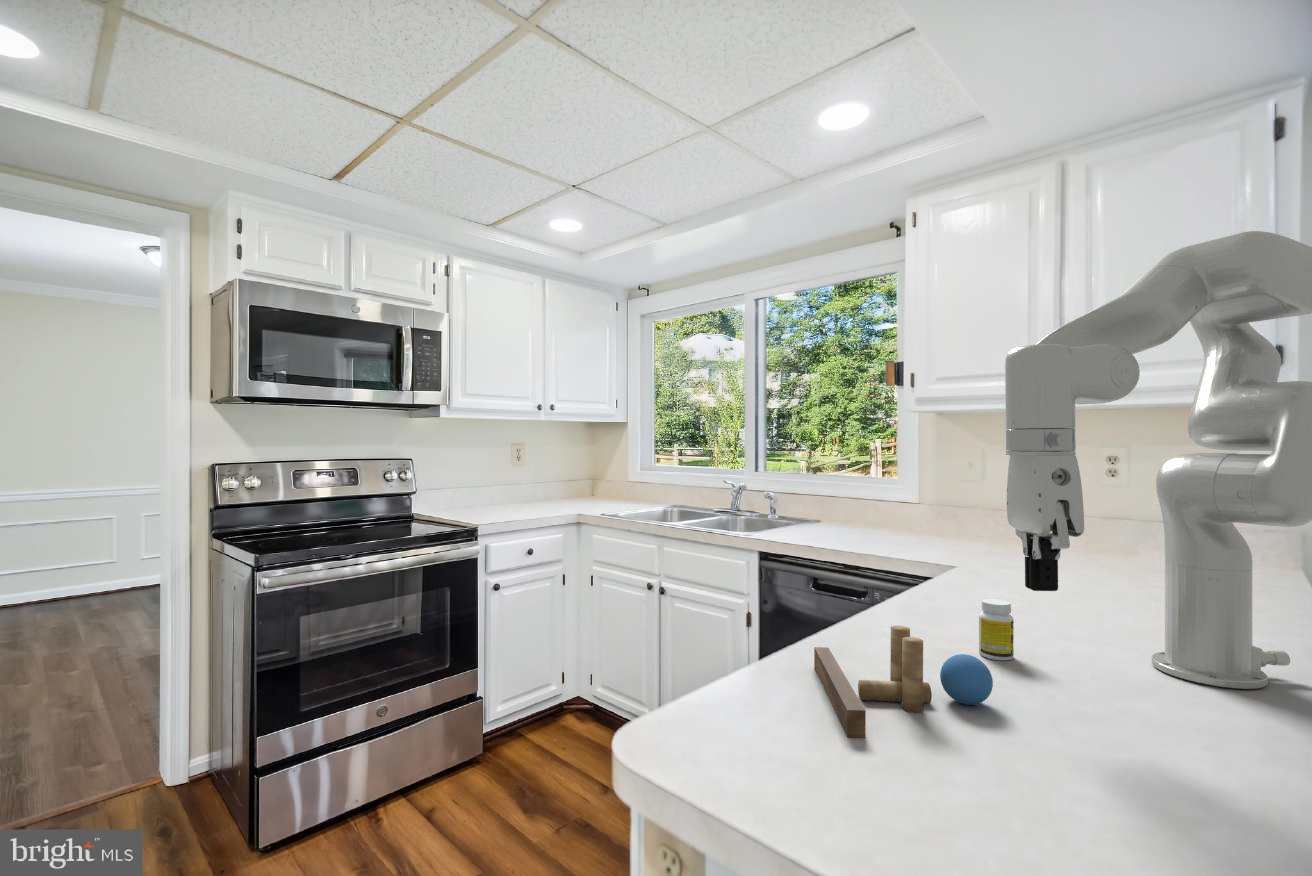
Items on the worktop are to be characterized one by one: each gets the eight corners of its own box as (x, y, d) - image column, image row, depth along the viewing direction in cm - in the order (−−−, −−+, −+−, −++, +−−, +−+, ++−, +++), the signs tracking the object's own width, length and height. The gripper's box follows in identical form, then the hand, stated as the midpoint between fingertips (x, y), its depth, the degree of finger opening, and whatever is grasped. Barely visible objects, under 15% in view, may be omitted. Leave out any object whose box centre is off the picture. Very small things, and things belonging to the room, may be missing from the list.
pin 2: (919, 705, 80) (919, 637, 80) (925, 713, 78) (926, 643, 78) (899, 704, 80) (900, 636, 80) (905, 712, 78) (905, 642, 78)
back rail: (828, 668, 93) (828, 647, 93) (865, 737, 71) (865, 710, 71) (814, 667, 93) (814, 647, 93) (847, 736, 71) (847, 709, 71)
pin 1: (906, 689, 85) (906, 625, 85) (912, 696, 83) (912, 631, 83) (888, 689, 85) (888, 625, 85) (893, 696, 83) (893, 630, 83)
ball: (925, 660, 84) (946, 701, 84) (941, 676, 78) (965, 721, 78) (966, 640, 84) (988, 681, 83) (986, 655, 78) (1010, 699, 77)
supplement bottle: (1018, 662, 96) (1018, 606, 96) (984, 660, 97) (984, 604, 97) (1007, 652, 101) (1007, 598, 101) (975, 650, 102) (975, 597, 102)
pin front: (925, 680, 83) (857, 677, 83) (931, 685, 80) (862, 683, 81) (925, 699, 82) (858, 696, 83) (931, 705, 80) (862, 702, 81)
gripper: (1108, 444, 73) (1110, 605, 73) (1040, 443, 87) (1041, 576, 87) (1039, 444, 73) (1041, 604, 73) (983, 443, 88) (984, 576, 88)
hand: (1041, 589), depth 80 cm, fingers closed
